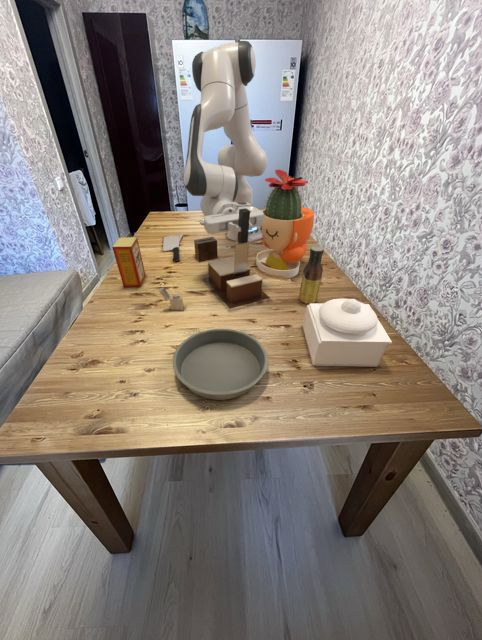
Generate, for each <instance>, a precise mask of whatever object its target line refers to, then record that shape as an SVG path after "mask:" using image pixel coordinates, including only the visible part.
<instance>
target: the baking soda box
mask: <svg viewBox="0 0 482 640" xmlns="http://www.w3.org/2000/svg"><path fill="white" fill-rule="evenodd" d="M111 249H112V251H113V254H114V258H115V262H116V265H117V268H118V272H119V276H120V279H121V283H122V286H123V288H141V287H142V285H143V282H144V280H145V278H146V276H147V275H146V271H145V266H144V262H143V257H142V253H141V248H140V244H139V239H138V236H123V237H122V236H120V237H119V238H118V239H117V240H116V241H115V243H114V244H113V245H112V247H111Z"/></svg>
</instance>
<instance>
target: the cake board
mask: <svg viewBox="0 0 482 640" xmlns="http://www.w3.org/2000/svg"><path fill="white" fill-rule="evenodd" d="M203 280H205V282H206V283H207V284H208V286H209V287H210V288H212V290H213V291H214V292H215V294H216V295H217V296H218V297H219V298H220V299H221V300H222V302H223V303H224V304H225V306H226V307H228V309H229V310H232V309H235V308H238V307H242V306H247V305H250V304H254V303H257V302H260V301H265V300H268V299H271V297H270V296H269V295H268V294H266V293H265V292H264V291H263V290H262V292H261V295H260V296H256V297H253V298H249V299H245V300H241V301H237V302H233V303H231V302H230V301H229V300H228V298H227V290H224V291H220V290H219V288H218V287H217V286H216V285H215V284H214V283H213V282H212V281H211V279H210V278H209V275H207V276H203Z"/></svg>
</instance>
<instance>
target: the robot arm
mask: <svg viewBox="0 0 482 640" xmlns="http://www.w3.org/2000/svg"><path fill="white" fill-rule="evenodd" d="M256 62H257V60H256V54H255V51H254V48H253V46H252V44H251V43H250V41H247V40H239V41H238V42H228V43H223V44H219V46H215V47H213V48H209V49H207V50H206V51H200V52H198V53H197V54H196V55H194V57H193V59H192V63H191V72H192V73H191V74H192V79H193V82H194V85H195V87H196V89H197V90H198V91H199V92H200V101H199V104H196V105H195V106H194V108H193V110H192V113H191V118H190V123H189V132H188V143H187V153H186V159H185V160H186V162H185V165H184V172H183V185H184V188H185V189H186V191H187V192H188V193H189V194H190V195H191V196H192V197H193V196H194V197H201V199H200V202H199V203H200V204H199V206H200V210H201V212H202V214H203V216H204V217H203V218H202V219H201V220H199V224H200V225H201V226H203V228H204V230H205V232H206V233H207V234H209V235H215V234H219V233H227V234H226V238H228V239H229V240H231V241H236V242H238V232H241V226H240V225H238V222H239V209H245V208H246V209H248V210H249V211H250V220H249V232H248V242H249V243H252V242H255V241H259V240H261V239H263V237H262V233H261V230H260V225H263V223H264V213H263V212H262V211H263V210H260V209H259V208H257V207H255V206H253V199H254V197H253V195H254V190H253V188H252V186H251V185H250V184H249V182H248V180H247V177H250V178H251V177H252V178H253V177H260V176H262V175H263V174H264V173H265V172H266V170H267V168H268V156H267V153H266V151H265V150H264V149H263V148H262V147H261V146H260V144H259V143H258V141H257V138H256V137H255V135H254V131H253V128H252V123H251V118H250V117H251V116H250V111H249V103H248V93H247V90H246V87H247V86H248V84H249V83H251V82H252V80H253V79H254V77H255V72H256V65H257V63H256ZM222 127H223V132H224V134H225V136H226V137H227V138H228V139H229V140H230V141H231V143H232V144H227V145H224V146H222V147H221V148H220V149H219V151H218V154H217V164H216V163H210V162H207V161H204V160H203V157H202V156H203V146H204V136H205V133H206V132H209V131H214V130H218V129H221V128H222Z"/></svg>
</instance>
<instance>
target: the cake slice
mask: <svg viewBox="0 0 482 640" xmlns="http://www.w3.org/2000/svg"><path fill="white" fill-rule="evenodd" d="M226 282H227V298H228V300H229V301H230V302H231V303H233V302H237V301H241V300H245V299H249V298H253V297H256V296H260V295H261V292H262V291H263V290H262V288H263V278H262V276H260V275H259V274H257V273H255V274H250V276H246V277H242V278H237V279H233V280H229V281H226Z"/></svg>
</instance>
